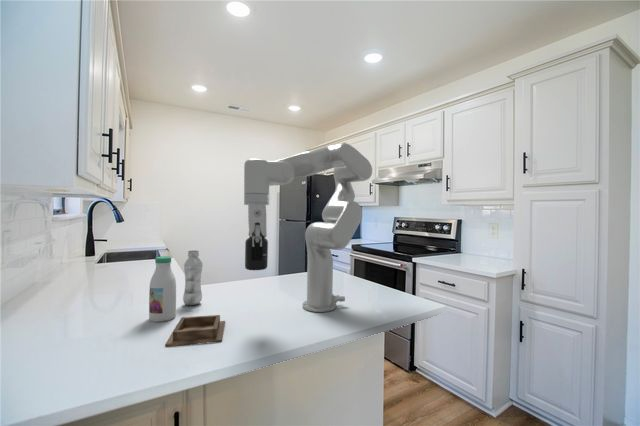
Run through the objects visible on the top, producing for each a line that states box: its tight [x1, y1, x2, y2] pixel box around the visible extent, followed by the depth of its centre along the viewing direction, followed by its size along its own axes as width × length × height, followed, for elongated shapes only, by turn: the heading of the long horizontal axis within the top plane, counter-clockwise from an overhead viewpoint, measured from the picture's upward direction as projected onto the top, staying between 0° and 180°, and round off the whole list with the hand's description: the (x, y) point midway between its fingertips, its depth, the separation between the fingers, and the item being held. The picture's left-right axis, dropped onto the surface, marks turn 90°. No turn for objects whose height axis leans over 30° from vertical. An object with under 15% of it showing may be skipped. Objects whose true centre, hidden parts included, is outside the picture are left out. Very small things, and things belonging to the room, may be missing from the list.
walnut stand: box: [164, 314, 226, 348], centre depth 85 cm, size 14×14×3 cm
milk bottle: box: [148, 255, 177, 323], centre depth 97 cm, size 8×8×20 cm
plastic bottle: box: [182, 250, 203, 306], centre depth 111 cm, size 6×7×20 cm
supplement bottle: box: [244, 232, 269, 271], centre depth 91 cm, size 7×7×12 cm
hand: (256, 257), depth 91 cm, fingers closed on supplement bottle, 6 cm apart
